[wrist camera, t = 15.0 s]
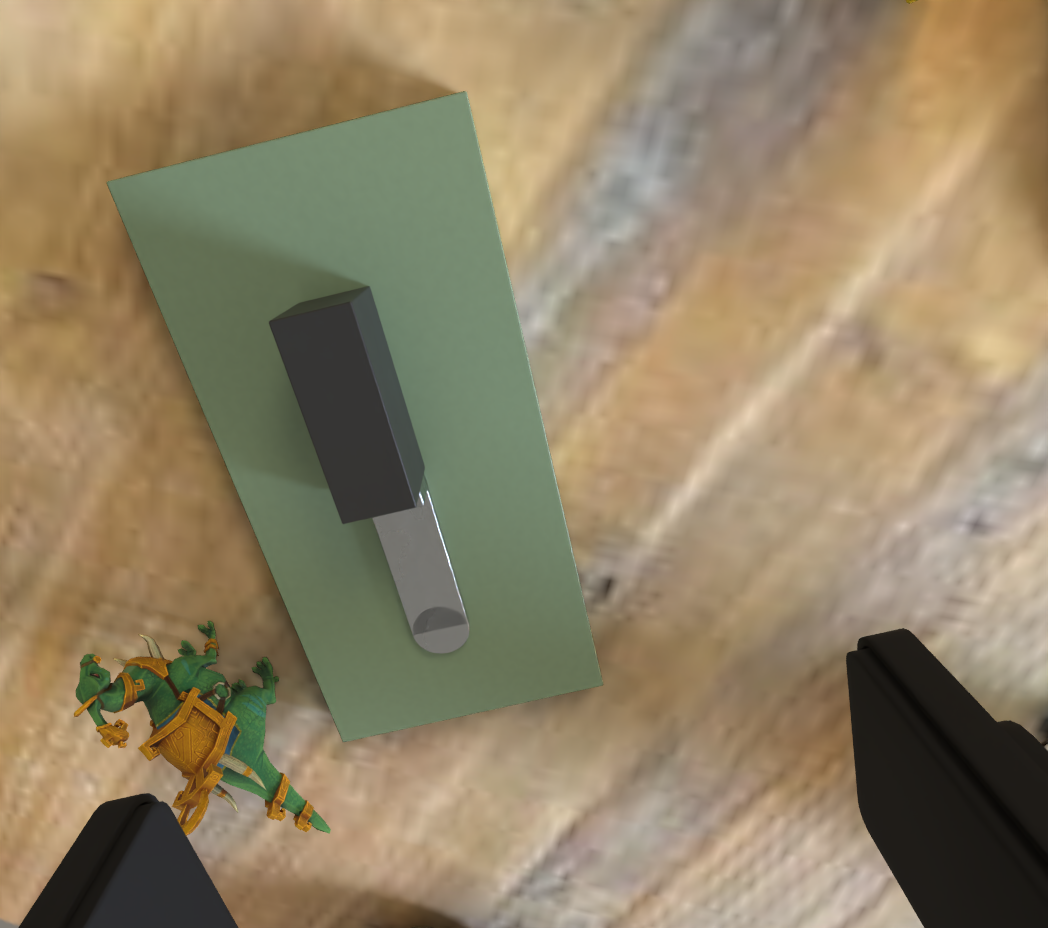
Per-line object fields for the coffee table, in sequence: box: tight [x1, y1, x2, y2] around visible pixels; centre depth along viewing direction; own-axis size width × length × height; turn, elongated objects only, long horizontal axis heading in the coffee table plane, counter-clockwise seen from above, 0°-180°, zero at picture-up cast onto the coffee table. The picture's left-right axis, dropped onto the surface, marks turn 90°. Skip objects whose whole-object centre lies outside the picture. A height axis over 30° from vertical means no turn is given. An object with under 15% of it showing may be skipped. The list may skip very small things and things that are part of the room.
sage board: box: [107, 91, 603, 742], centre depth 27 cm, size 24×12×2 cm, turn 13°
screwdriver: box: [269, 286, 470, 654], centre depth 25 cm, size 15×3×4 cm, turn 13°
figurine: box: [74, 621, 331, 836], centre depth 28 cm, size 3×12×8 cm, turn 43°
